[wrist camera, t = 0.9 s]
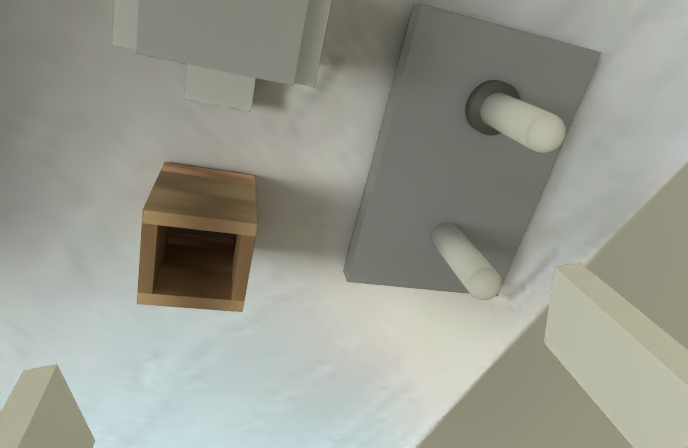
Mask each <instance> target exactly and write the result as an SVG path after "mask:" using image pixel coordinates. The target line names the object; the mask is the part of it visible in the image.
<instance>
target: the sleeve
mask: <svg viewBox="0 0 688 448" xmlns="http://www.w3.org/2000/svg"><path fill="white" fill-rule="evenodd" d="M257 225H258V222H257V204H256V187H255V176H254V175H248V174H241V173H234V172H228V171H221V170H214V169H208V168H201V167H194V166H188V165H181V164H174V163H168V162H164V165H163V167H162V169H161V171H160V173H159V176H158V178H157V180H156V182H155V184H154V187H153V189H152V191H151V193H150V195H149V197H148V200H147V202H146V204H145V206H144V208H143V215H142V231H141V247H140V263H139V279H138V295H137V304H143V305H157V306H170V307H184V308H197V309H210V310H224V311H237V312H243V306H244V301H245V295H246V289H247V283H248V277H249V271H250V266H251V260H252V254H253V248H254V242H255V236H256V231H257ZM171 227H179V228H188V229H196V230H205V231H214V232H222V233H231V234H235V235H234V239H225V238H216V237H207V236H198V235H190V234H181V233H172V232H171Z"/></svg>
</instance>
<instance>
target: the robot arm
mask: <svg viewBox="0 0 688 448" xmlns="http://www.w3.org/2000/svg"><path fill="white" fill-rule="evenodd" d="M544 343H545V344H546V346H547V347H548V348H549V349H550V350H551V351H552V353H553V354H554V355H555V356H556V357H557V358H558V360H559V361H560V362H561V363H562V364H563V365H564V366H565V368H566V369H567V370H568V371H569V372H570V374H571V375H572V376H573V377H574V378H575V380H576V381H577V382H578V383H579V384H580V385H581V386H582V388H583V389H584V390H585V391H586V392H587V394H588V395H589V396H590V397H591V398H592V399H593V401H594V402H595V403H596V404H597V405H598V406H599V408H600V409H601V410H602V411H603V412H604V413H605V415H606V416H607V417H608V418H609V419H610V421H611V422H612V423H613V424H614V425H615V426H616V428H617V429H618V430H619V431H620V432H621V433H622V435H623V436H624V437H625V438H626V439H627V440H628V442H629V443H630V444H631V445H632V446H633V447H634V448H688V350H687V349H686V348H685V347H683V346H682V345H681V344H680V343H678V342H677V341H676V340H675V339H673V338H672V337H671V336H670V335H669V334H667V333H666V332H665V331H664V330H662V329H661V328H660V327H659V326H658V325H656V324H655V323H654V322H653V321H651V320H650V319H649V318H648V317H646V316H645V315H644V314H643V313H642V312H640V311H639V310H638V309H637V308H635V307H634V306H633V305H632V304H630V303H629V302H628V301H627V300H626V299H624V298H623V297H622V296H621V295H619V294H618V293H617V292H616V291H614V290H613V289H612V288H611V287H610V286H608V285H607V284H606V283H605V282H603V281H602V280H601V279H600V278H599V277H597V276H596V275H595V274H594V273H592V272H591V271H590V270H589V269H587V268H586V267H585V266H584V265H583V264H581V263H580V262H578V263H573V264H567V265H562V266H557V267H555V268H554V275H553V282H552V289H551V296H550V303H549V310H548V317H547V324H546V331H545V338H544ZM94 442H95V439H94V437H93V435H92V433H91V431H90V429H89V427H88V425H87V423H86V421H85V419H84V417H83V415H82V413H81V411H80V409H79V407H78V405H77V403H76V401H75V399H74V397H73V395H72V393H71V391H70V389H69V387H68V385H67V383H66V381H65V379H64V377H63V375H62V373H61V371H60V369H59V367H58V365H57V364H56V365H51V366H46V367H41V368H36V369H31V370H26V371H23V373H22V374H21V376H20V378H19V380H18V382H17V383H16V385H15V387H14V389H13V391H12V393H11V394H10V396H9V398H8V400H7V402H6V403H5V405H4V407H3V409H2V411H1V412H0V448H93V445H94Z"/></svg>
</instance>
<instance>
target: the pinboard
mask: <svg viewBox="0 0 688 448" xmlns="http://www.w3.org/2000/svg"><path fill="white" fill-rule="evenodd" d="M600 54H601V52H597V51H593V50H590V49H586V48H582V47H578V46H575V45H571V44H567V43H564V42H560V41H556V40H552V39H549V38H545V37H541V36H538V35H534V34H530V33H526V32H523V31H519V30H515V29H512V28H508V27H504V26H501V25H497V24H493V23H489V22H486V21H482V20H478V19H475V18H471V17H467V16H463V15H460V14H456V13H452V12H449V11H445V10H441V9H437V8H434V7H430V6H426V5H423V4H413V8H412V12H411V16H410V19H409V23H408V27H407V31H406V35H405V38H404V42H403V46H402V50H401V54H400V57H399V61H398V65H397V69H396V73H395V76H394V80H393V84H392V88H391V92H390V95H389V99H388V103H387V107H386V111H385V114H384V118H383V122H382V126H381V130H380V133H379V137H378V141H377V145H376V149H375V152H374V156H373V160H372V164H371V168H370V171H369V175H368V179H367V183H366V186H365V190H364V194H363V198H362V202H361V205H360V209H359V213H358V217H357V221H356V224H355V228H354V232H353V236H352V240H351V243H350V247H349V251H348V255H347V259H346V262H345V266H344V270H343V271H344V274H345V277H346V279H347V282H355V283H365V284H376V285H386V286H396V287H407V288H417V289H427V290H438V291H448V292H458V293H469V294H471V295H472V296H473V297H475V298H477V299H481V300H487V299H491V298H493V297H494V296H498V294H499V291H500V289H501V287H502V284H503V282H504V280H505V277H506V275H507V273H508V270H509V268H510V266H511V263H512V261H513V258H514V256H515V254H516V251H517V249H518V247H519V244H520V242H521V240H522V237H523V235H524V233H525V230H526V228H527V226H528V223H529V221H530V218H531V216H532V214H533V211H534V209H535V207H536V204H537V202H538V200H539V197H540V195H541V193H542V190H543V188H544V186H545V183H546V181H547V179H548V176H549V174H550V171H551V169H552V167H553V164H554V162H555V160H556V157H557V155H558V153H559V150H560V148H561V146H562V143H563V141H564V139H565V136H566V134H567V132H568V129H569V127H570V124H571V122H572V120H573V117H574V115H575V113H576V110H577V108H578V106H579V103H580V101H581V99H582V96H583V94H584V92H585V89H586V87H587V84H588V82H589V80H590V77H591V75H592V73H593V70H594V68H595V66H596V63H597V61H598V59H599V56H600Z"/></svg>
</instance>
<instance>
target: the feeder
mask: <svg viewBox="0 0 688 448" xmlns="http://www.w3.org/2000/svg"><path fill="white" fill-rule="evenodd" d="M331 1H332V0H114V13H113V46H118V47H122V48H127V49H132V50H136V54H140V55H145V56H150V57H155V58H160V59H165V60H170V61H174V62H179V63H184V64H187V70H186V81H185V92H184V100H189V101H195V102H200V103H205V104H211V105H216V106H222V107H227V108H232V109H238V110H243V111H249V112H251V107H252V101H253V94H254V87H255V80H256V78H258V79H263V80H268V81H272V82H277V83H282V84H287V85H292V86H293V84H294V83H297V84H302V85H307V86H312V87H315V82H316V77H317V72H318V67H319V62H320V56H321V51H322V46H323V41H324V36H325V31H326V26H327V21H328V16H329V11H330V6H331Z"/></svg>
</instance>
